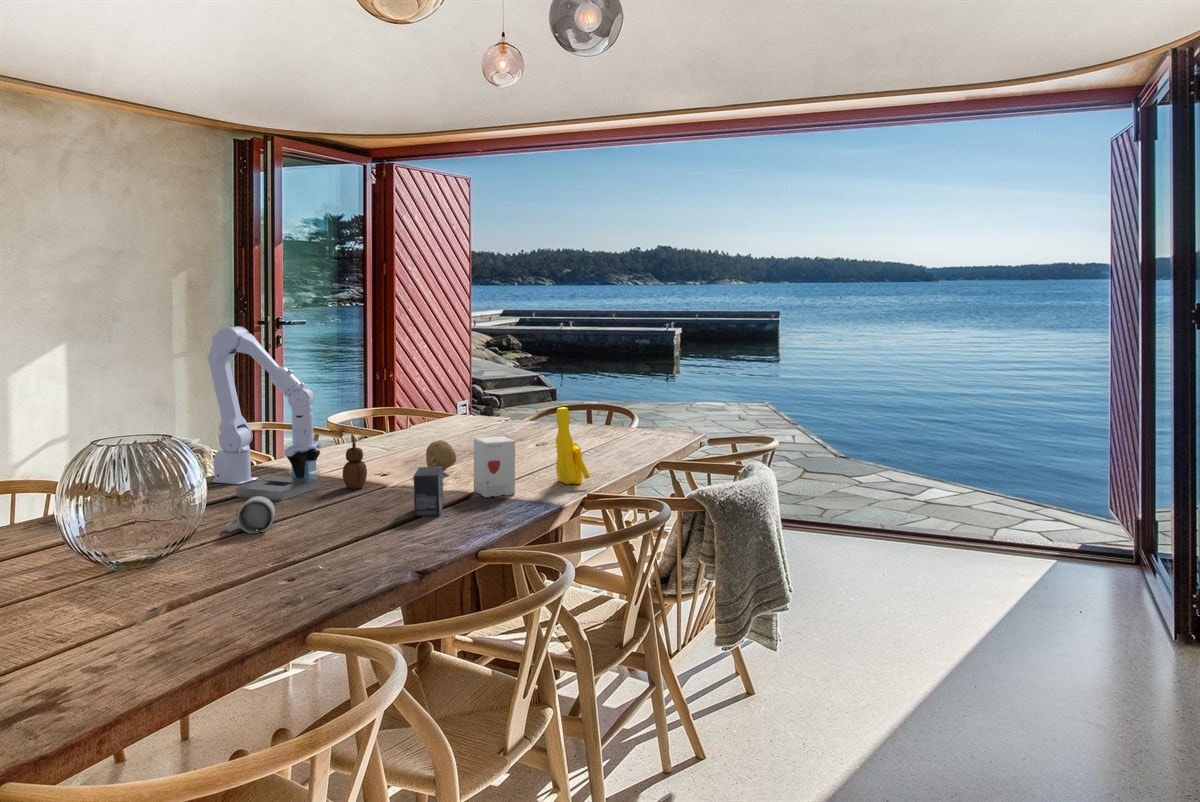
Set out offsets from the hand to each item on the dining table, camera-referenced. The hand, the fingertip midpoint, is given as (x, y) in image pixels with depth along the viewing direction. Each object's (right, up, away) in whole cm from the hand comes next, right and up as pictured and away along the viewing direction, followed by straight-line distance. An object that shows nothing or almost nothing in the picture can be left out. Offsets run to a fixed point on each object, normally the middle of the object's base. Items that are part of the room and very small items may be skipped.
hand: (304, 476), depth 250 cm
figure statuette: (+76, -2, +2) cm, 76 cm away
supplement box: (+56, -4, -12) cm, 57 cm away
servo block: (0, -1, 0) cm, 1 cm away
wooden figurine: (+17, -3, -7) cm, 18 cm away
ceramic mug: (+5, -8, -51) cm, 52 cm away
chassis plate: (-2, -3, -14) cm, 14 cm away
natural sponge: (+37, 0, +14) cm, 39 cm away
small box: (+42, -6, -32) cm, 54 cm away
